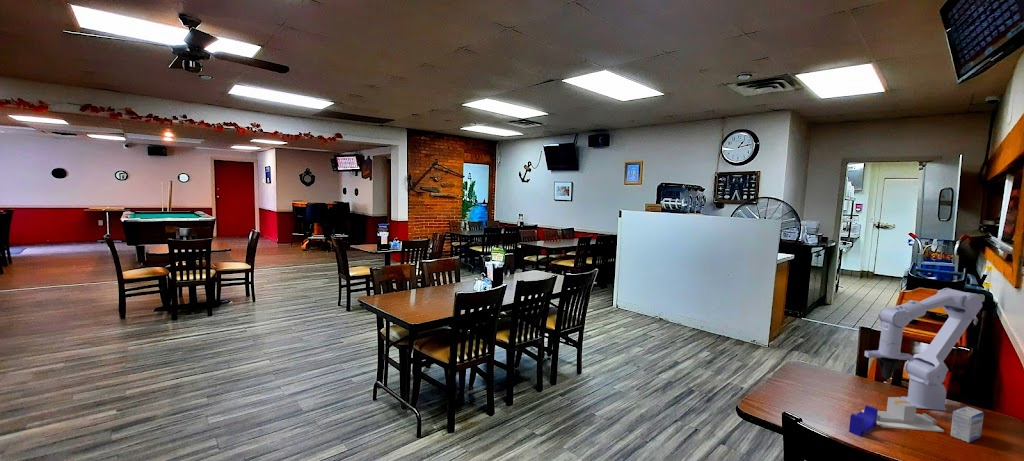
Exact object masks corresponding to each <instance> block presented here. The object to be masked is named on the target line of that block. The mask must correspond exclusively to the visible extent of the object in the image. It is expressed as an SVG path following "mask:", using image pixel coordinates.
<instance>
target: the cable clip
mask: <svg viewBox="0 0 1024 461" xmlns="http://www.w3.org/2000/svg"><path fill="white" fill-rule="evenodd" d="M863 410H864V413H863V412H862V411H859V412H858V413H851V414H850V418H849V429H848V432H849V433H850V434H853V435H855V436H858V437H862V436H864V435H866V434H867V433H868V432H869V431H871V430H872V429H874V428H875V427H877V413H878V411H879V410H878V408H876V407H872V406H870V405H865V406H864V409H863Z"/></svg>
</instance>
